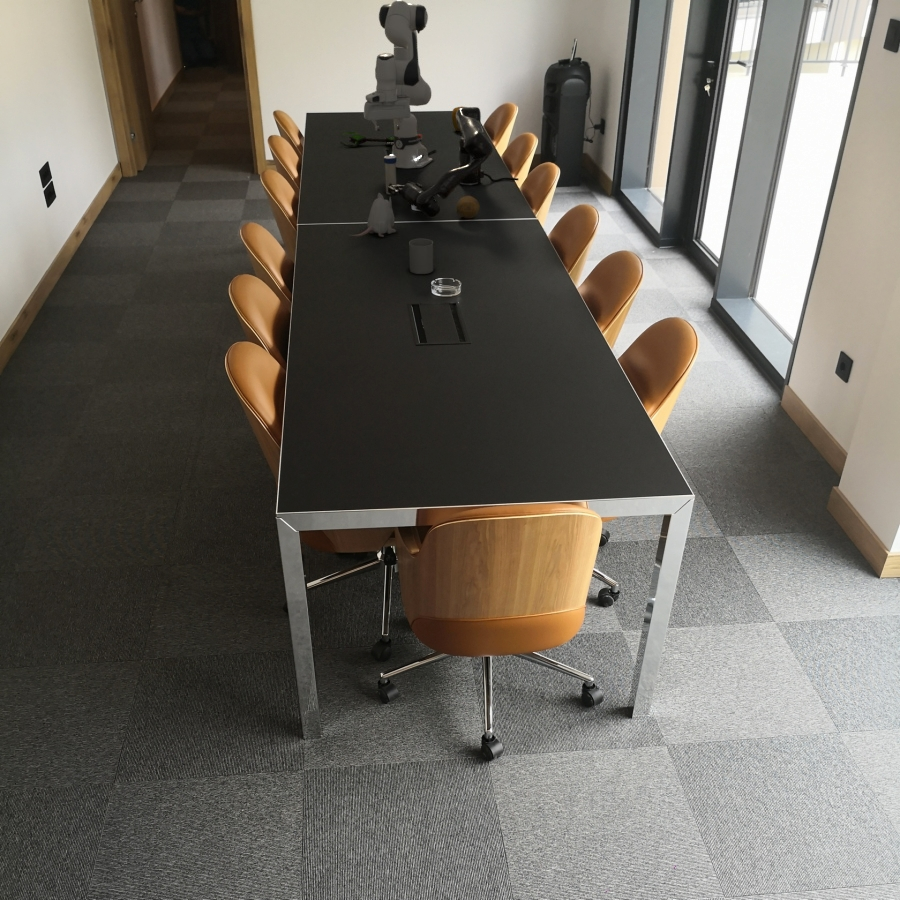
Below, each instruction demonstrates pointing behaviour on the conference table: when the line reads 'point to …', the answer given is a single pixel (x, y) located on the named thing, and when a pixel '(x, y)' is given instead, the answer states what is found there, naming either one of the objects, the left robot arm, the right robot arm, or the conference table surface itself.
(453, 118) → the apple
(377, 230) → the toy
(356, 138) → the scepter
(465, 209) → the potato
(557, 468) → the conference table surface
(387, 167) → the jar
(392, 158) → the lid
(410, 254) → the cup
